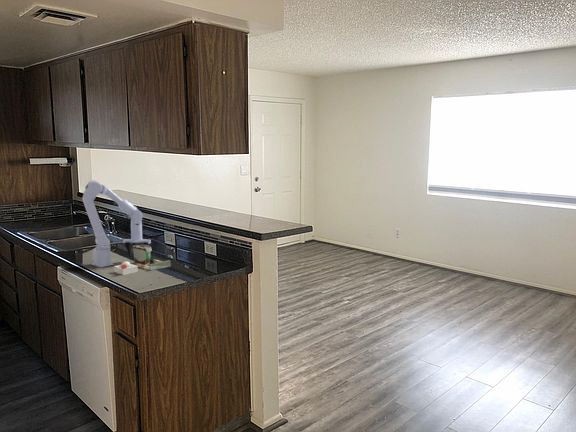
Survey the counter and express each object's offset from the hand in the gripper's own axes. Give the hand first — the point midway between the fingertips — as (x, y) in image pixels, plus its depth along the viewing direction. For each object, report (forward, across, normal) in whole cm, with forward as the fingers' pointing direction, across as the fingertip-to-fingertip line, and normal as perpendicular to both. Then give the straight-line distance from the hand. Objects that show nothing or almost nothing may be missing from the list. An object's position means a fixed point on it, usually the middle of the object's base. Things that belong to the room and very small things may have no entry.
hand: (137, 256), depth 259 cm
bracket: (+3, +11, -8) cm, 14 cm away
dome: (+2, +2, -22) cm, 22 cm away
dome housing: (+3, +2, -22) cm, 22 cm away
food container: (+3, +6, -6) cm, 9 cm away
